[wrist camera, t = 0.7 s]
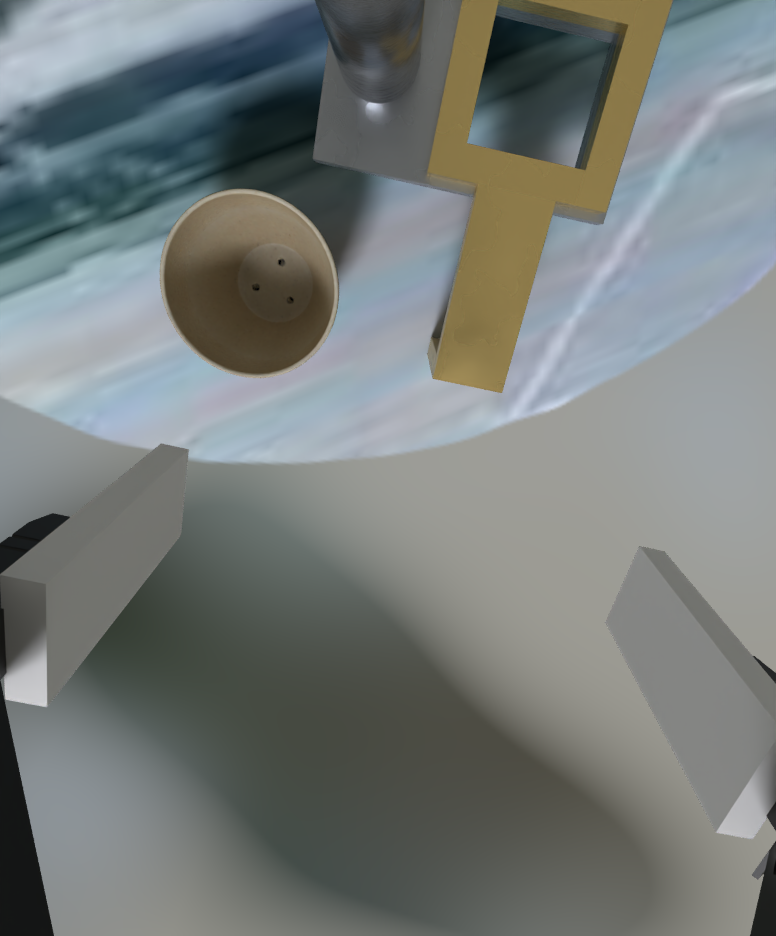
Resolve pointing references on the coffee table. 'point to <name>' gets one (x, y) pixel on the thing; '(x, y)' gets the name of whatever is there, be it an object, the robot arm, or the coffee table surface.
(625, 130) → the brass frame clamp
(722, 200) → the coffee table surface
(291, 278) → the flower pot
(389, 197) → the coffee table surface
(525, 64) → the coffee table surface
